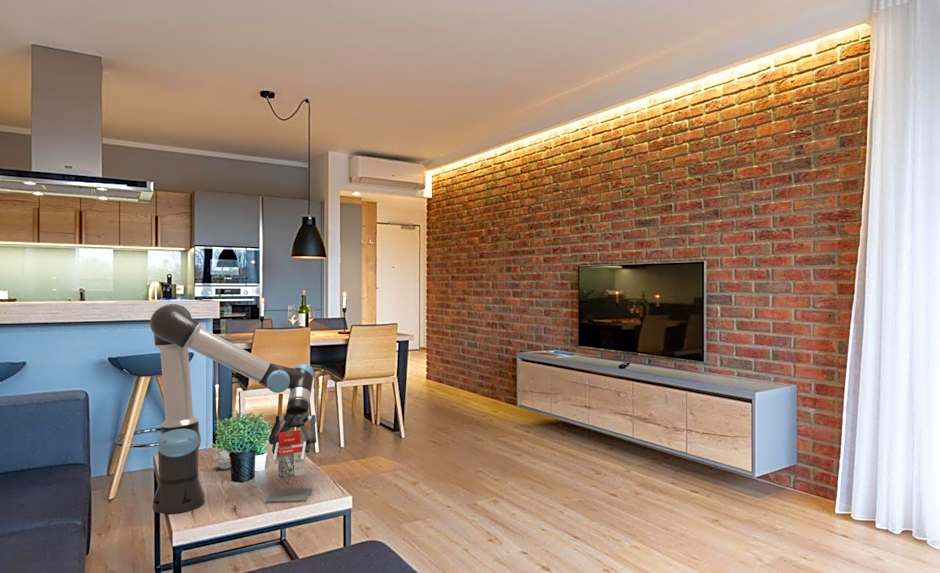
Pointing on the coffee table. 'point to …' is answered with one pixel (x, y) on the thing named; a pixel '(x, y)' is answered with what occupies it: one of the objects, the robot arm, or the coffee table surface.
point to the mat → (289, 495)
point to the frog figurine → (223, 459)
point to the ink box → (290, 455)
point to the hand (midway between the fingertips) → (289, 461)
